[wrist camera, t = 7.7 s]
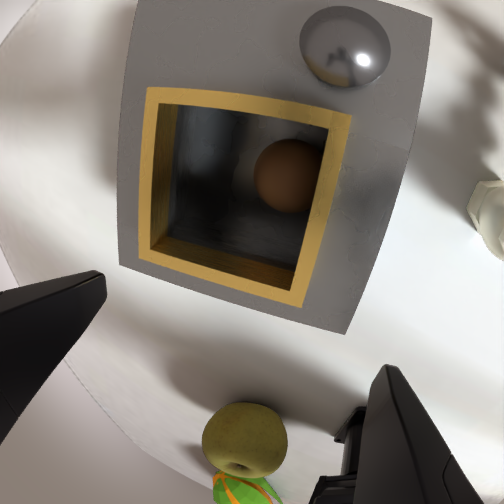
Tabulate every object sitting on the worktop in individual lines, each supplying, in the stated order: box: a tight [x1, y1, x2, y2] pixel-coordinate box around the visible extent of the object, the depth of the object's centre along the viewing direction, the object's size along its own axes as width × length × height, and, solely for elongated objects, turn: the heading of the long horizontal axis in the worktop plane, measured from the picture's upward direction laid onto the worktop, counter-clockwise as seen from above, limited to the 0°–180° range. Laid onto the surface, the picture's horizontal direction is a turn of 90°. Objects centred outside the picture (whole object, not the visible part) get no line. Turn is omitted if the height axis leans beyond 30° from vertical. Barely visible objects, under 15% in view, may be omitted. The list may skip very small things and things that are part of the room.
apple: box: [202, 402, 288, 478], centre depth 25 cm, size 8×8×7 cm
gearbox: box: [117, 0, 432, 335], centre depth 13 cm, size 14×12×8 cm
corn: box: [213, 470, 283, 504], centre depth 34 cm, size 7×8×20 cm
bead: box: [253, 139, 323, 213], centre depth 15 cm, size 4×4×4 cm
